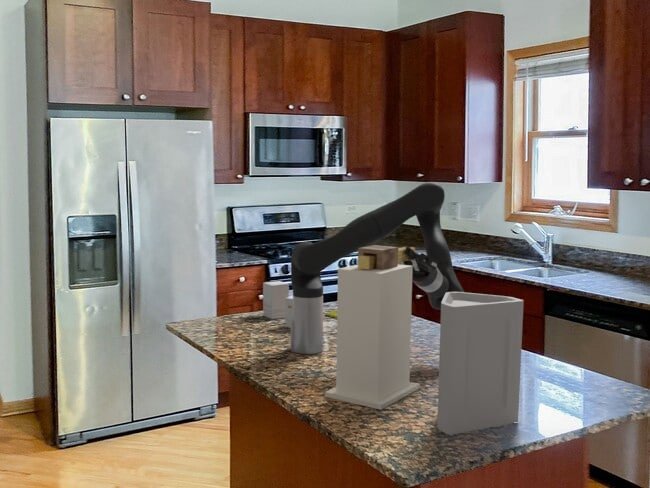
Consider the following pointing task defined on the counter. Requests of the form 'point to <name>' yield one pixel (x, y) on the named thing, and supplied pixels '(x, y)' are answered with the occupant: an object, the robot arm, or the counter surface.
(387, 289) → the mount
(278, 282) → the supplement box
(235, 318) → the counter surface
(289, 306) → the small box
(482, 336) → the triangular grey vase
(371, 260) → the gold block
